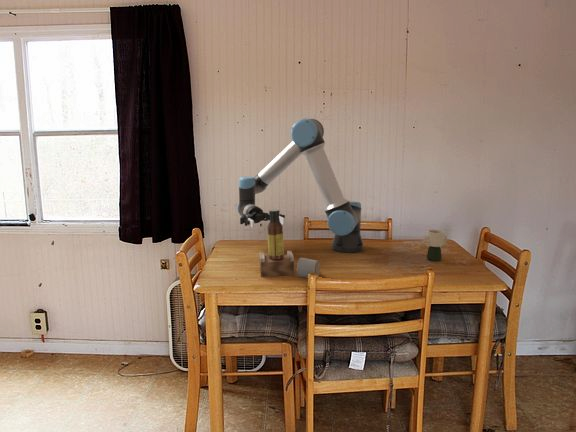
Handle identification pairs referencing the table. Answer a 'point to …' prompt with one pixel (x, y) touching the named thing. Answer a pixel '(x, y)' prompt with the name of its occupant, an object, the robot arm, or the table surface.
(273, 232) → the sauce bottle
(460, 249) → the table surface
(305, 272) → the ceramic mug
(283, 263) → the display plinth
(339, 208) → the robot arm
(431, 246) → the character mug
